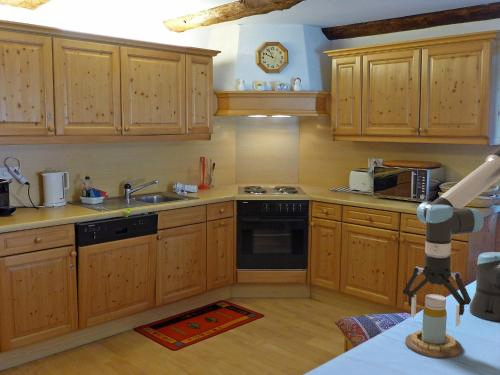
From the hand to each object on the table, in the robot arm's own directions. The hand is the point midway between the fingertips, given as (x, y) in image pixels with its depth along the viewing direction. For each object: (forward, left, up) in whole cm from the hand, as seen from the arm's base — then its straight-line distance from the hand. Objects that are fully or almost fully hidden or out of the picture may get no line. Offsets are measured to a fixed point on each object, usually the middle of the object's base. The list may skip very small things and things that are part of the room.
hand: (435, 320), depth 167 cm
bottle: (0, 0, -8) cm, 8 cm away
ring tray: (0, 0, -9) cm, 9 cm away
